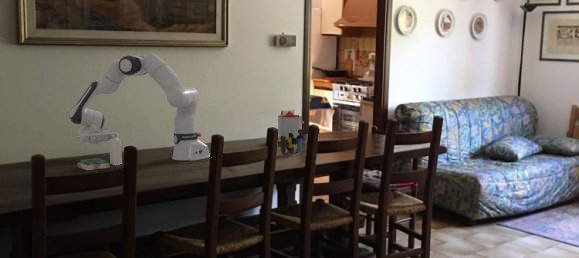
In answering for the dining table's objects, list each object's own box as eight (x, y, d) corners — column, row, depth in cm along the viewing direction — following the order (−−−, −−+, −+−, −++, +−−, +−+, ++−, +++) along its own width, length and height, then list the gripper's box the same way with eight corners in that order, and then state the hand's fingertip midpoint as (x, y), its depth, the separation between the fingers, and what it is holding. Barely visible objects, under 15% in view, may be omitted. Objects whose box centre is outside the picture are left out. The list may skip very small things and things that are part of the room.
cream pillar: (118, 163, 315) (117, 137, 313) (122, 164, 312) (121, 138, 310) (110, 164, 312) (109, 137, 311) (114, 165, 309) (113, 138, 307)
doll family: (292, 150, 357) (291, 127, 355) (306, 151, 354) (306, 128, 352) (277, 156, 335) (277, 132, 334) (293, 157, 332) (292, 133, 331)
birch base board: (100, 164, 313) (100, 157, 312) (110, 167, 304) (109, 160, 303) (77, 167, 305) (77, 160, 305) (86, 170, 296) (86, 163, 296)
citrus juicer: (307, 142, 387) (307, 111, 384) (281, 144, 382) (281, 112, 380) (300, 139, 402) (300, 109, 399) (275, 140, 397) (274, 110, 395)
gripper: (75, 131, 324) (85, 133, 313) (111, 128, 337) (122, 131, 326) (75, 142, 325) (85, 146, 314) (112, 139, 338) (122, 142, 327)
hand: (104, 138), depth 320 cm, fingers open, 8 cm apart
